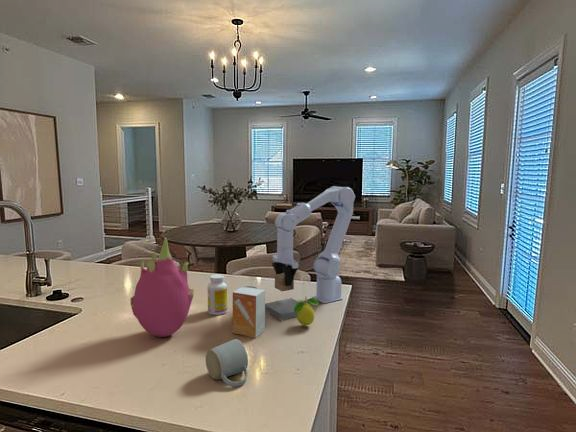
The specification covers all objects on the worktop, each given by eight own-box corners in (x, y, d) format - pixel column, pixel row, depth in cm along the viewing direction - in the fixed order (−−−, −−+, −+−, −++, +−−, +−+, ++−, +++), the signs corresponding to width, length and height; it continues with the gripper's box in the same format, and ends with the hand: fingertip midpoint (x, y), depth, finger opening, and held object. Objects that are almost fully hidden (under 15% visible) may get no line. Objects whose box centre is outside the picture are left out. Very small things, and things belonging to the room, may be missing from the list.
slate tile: (291, 303, 141) (291, 298, 141) (310, 313, 131) (310, 307, 131) (263, 309, 135) (263, 303, 134) (281, 320, 125) (281, 314, 124)
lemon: (318, 324, 122) (318, 294, 121) (313, 331, 116) (314, 300, 115) (298, 321, 124) (299, 292, 123) (292, 328, 119) (293, 297, 117)
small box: (232, 333, 114) (231, 291, 112) (242, 326, 119) (242, 286, 118) (256, 338, 111) (256, 295, 109) (265, 330, 116) (265, 289, 115)
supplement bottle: (231, 310, 133) (230, 275, 131) (220, 317, 127) (219, 280, 125) (215, 307, 136) (215, 272, 134) (203, 313, 130) (203, 277, 128)
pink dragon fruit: (195, 324, 120) (194, 231, 117) (192, 343, 107) (190, 239, 104) (137, 327, 117) (134, 232, 114) (126, 347, 104) (122, 240, 101)
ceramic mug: (203, 373, 92) (203, 343, 90) (232, 362, 97) (232, 334, 96) (226, 394, 83) (226, 361, 82) (256, 381, 89) (256, 350, 88)
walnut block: (286, 285, 141) (286, 272, 140) (293, 289, 137) (293, 275, 136) (274, 287, 138) (274, 274, 138) (282, 291, 134) (282, 277, 133)
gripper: (265, 244, 140) (265, 280, 141) (286, 251, 128) (285, 290, 129) (281, 242, 143) (281, 277, 145) (303, 249, 131) (302, 287, 133)
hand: (284, 283), depth 137 cm, fingers closed on walnut block, 5 cm apart
